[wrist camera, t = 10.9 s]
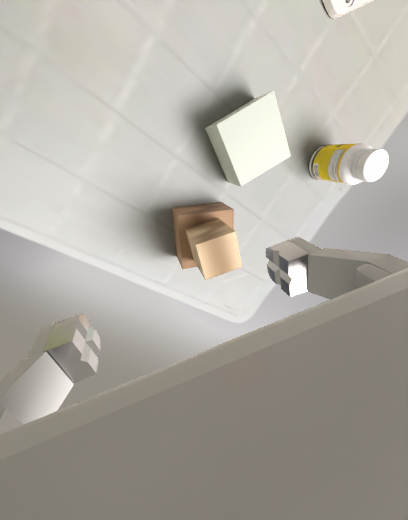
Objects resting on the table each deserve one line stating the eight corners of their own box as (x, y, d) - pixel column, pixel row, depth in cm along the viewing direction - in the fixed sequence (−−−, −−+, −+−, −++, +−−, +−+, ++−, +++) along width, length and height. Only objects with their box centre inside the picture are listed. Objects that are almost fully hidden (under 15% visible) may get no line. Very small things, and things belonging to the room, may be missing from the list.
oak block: (218, 218, 32) (235, 231, 27) (225, 249, 35) (241, 266, 29) (184, 229, 31) (195, 245, 26) (193, 260, 34) (205, 280, 29)
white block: (254, 98, 32) (273, 90, 27) (271, 155, 36) (290, 156, 31) (204, 128, 31) (216, 124, 27) (227, 181, 35) (241, 186, 31)
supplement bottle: (341, 152, 39) (400, 153, 30) (324, 184, 40) (377, 193, 32) (318, 139, 36) (375, 135, 28) (302, 173, 38) (351, 180, 30)
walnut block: (221, 202, 37) (233, 209, 32) (221, 248, 40) (232, 260, 36) (171, 207, 35) (177, 216, 30) (176, 255, 38) (182, 269, 34)
